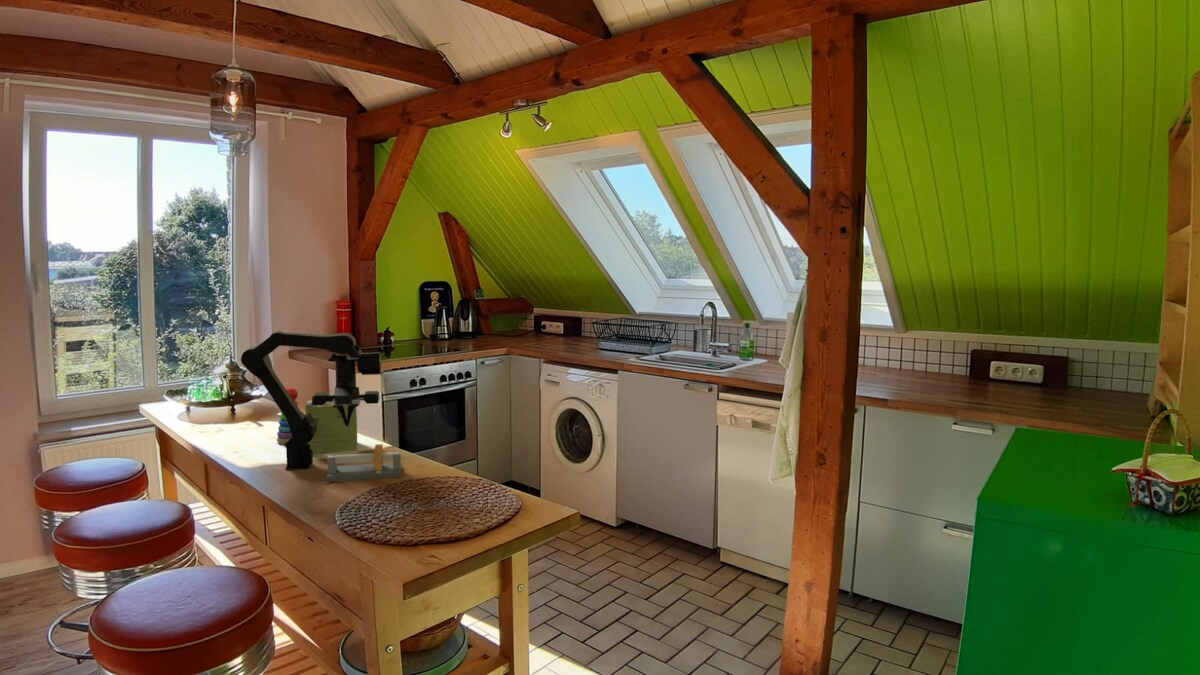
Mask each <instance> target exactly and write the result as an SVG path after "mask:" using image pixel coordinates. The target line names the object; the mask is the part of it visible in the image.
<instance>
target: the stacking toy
mask: <svg viewBox="0 0 1200 675" xmlns="http://www.w3.org/2000/svg"><path fill="white" fill-rule="evenodd" d="M285 389H286V390H287V392H288V393H289V395H290V396H291V398H292V399H293V401H294V402H295V404H296V405H297V406H298V404H299V403H298V402H297V398H298V396H299V395H298V391H297V389H296V388H294V387H292V386H289V387H288V386H287V387H285ZM279 410H280V409H279ZM280 413H281V414H279V418H280V420H279V421H278V424H279V425H278V428H277V429H278V431H277V433H276V435H277V437H276V441H277V443H278V444H279V445H285V443H286V442H287V441H288V440H289V438H290V437H291V436H292V434H291V432H290V430H289V426H288V422H287V419H286V417H285V416H284V414H283V413H282V411H281V410H280Z"/></svg>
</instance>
